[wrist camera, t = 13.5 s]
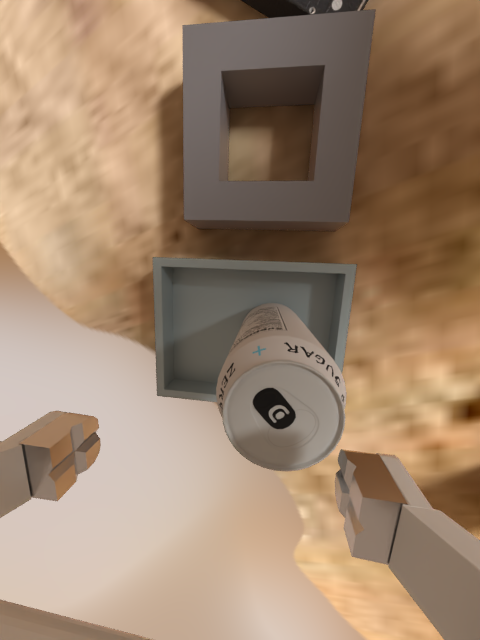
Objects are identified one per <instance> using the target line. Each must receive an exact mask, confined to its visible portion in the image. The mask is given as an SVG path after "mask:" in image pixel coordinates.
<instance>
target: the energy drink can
mask: <svg viewBox="0 0 480 640" xmlns="http://www.w3.org/2000/svg"><path fill="white" fill-rule="evenodd" d="M216 397H217V404H218V408H219V411H220V414H221V416H222V418H223V424H224V428H225V432H226V433H227V436H228V438H229V440H230V442H231V443H232V444H233V446H234V447H235V449H236V450H237V451H238V452H239V453H240V454H241V455H242V456H244V457H245V458H246V459H248V460H249V461H251V462H252V463H254V464H257V465H259V466H261V467H263V468H267V469H271V470H276V471H295V470H301V469H304V468H308V467H310V466H312V465H315V464H317V463H319V462H320V461H322V460H323V459H324V458H326V457H327V456H328V455H329V454H330V453H331V452H332V451H333V450H334V449H335V447H336V446H337V444H338V442H339V441H340V439H341V436H342V433H343V430H344V425H345V411H344V409H345V405H346V387H345V381H344V379H343V376H342V373H341V371H340V369H339V367H338V366H337V364H336V363H335V361H334V360H333V358H332V357H331V356H330V355H329V354H328V352H327V351H326V350H325V349H324V348H323V346H322V345H321V344H320V343H319V341H318V340H317V339H316V338H315V337H314V335H313V334H312V333H311V332H310V331H309V329H308V328H307V327H306V326H305V324H304V323H303V322H302V321H301V320H300V318H299V317H298V316H297V315H296V314H295V313H294V312H293V311H292V310H291V309H290V308H288V307H287V306H284V305H282V304H278V303H266V304H262V305H259V306H257V307H255V308H254V309H252V310H251V311H250V312H249V313H248V314H247V316H246V317H245V319H244V321H243V323H242V325H241V328H240V330H239V332H238V334H237V336H236V339H235V341H234V343H233V345H232V347H231V350H230V352H229V354H228V356H227V358H226V361H225V363H224V365H223V367H222V370H221V372H220V374H219V377H218V382H217V387H216Z"/></svg>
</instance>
